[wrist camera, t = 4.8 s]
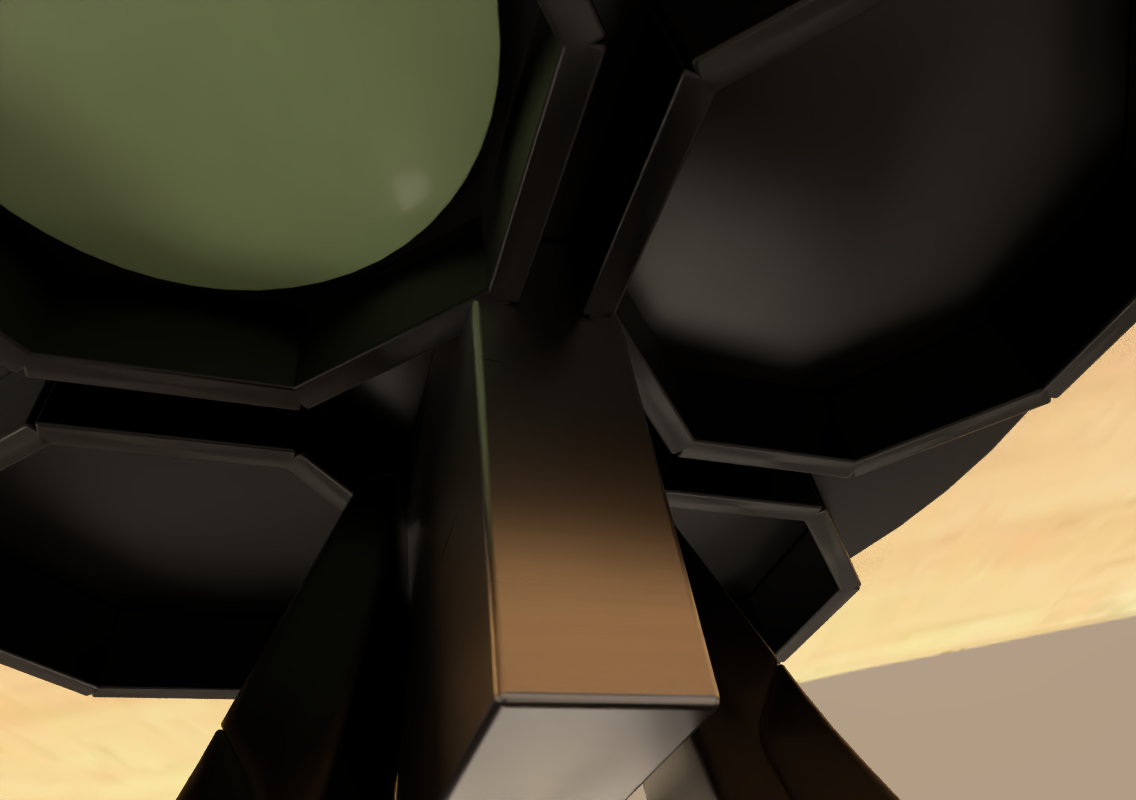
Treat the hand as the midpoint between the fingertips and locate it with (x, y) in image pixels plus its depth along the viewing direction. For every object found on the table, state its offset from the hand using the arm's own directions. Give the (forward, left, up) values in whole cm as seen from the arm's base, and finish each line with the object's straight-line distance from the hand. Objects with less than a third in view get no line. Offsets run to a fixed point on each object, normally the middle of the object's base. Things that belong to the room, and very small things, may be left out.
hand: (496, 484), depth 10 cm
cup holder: (0, 0, -3) cm, 3 cm away
